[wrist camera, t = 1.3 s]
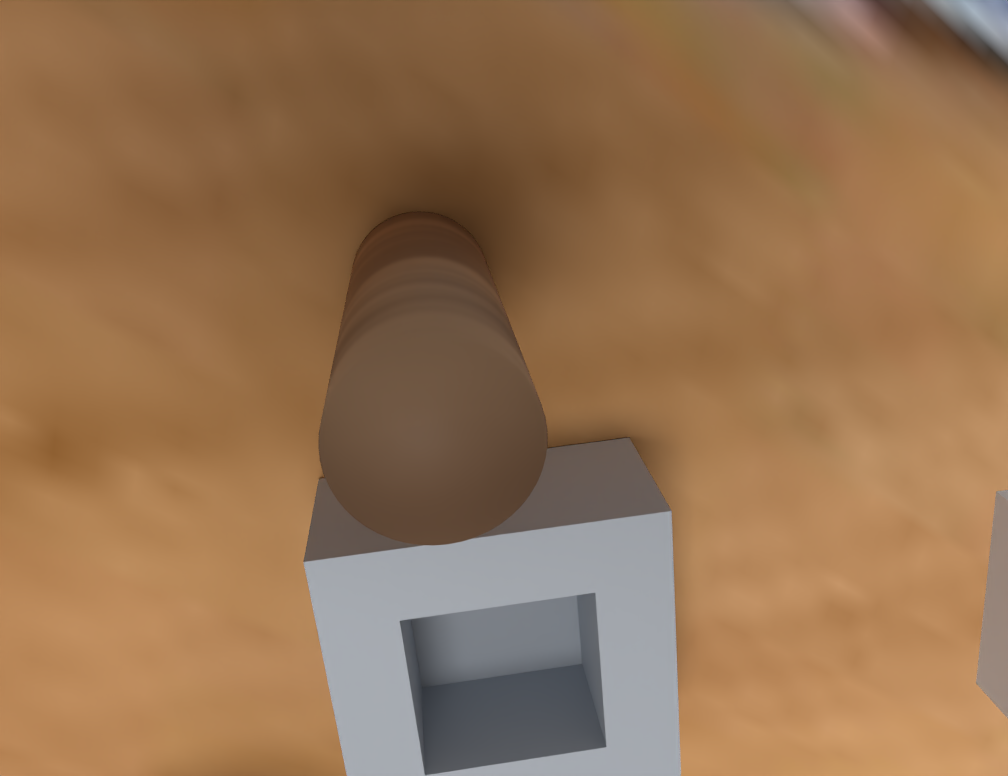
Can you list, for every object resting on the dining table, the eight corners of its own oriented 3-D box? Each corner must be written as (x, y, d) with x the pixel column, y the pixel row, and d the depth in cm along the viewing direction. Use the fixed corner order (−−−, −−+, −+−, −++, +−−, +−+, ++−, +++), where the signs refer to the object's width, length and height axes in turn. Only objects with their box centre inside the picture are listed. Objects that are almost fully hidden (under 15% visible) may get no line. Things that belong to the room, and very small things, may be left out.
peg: (342, 220, 27) (299, 351, 15) (480, 204, 27) (537, 322, 16) (363, 351, 28) (338, 559, 17) (494, 335, 28) (555, 529, 17)
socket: (318, 478, 29) (303, 562, 25) (629, 437, 30) (671, 510, 25) (366, 729, 33) (361, 843, 28) (642, 688, 34) (681, 793, 29)
